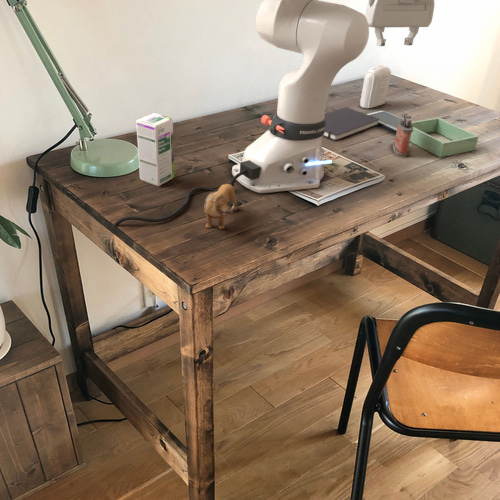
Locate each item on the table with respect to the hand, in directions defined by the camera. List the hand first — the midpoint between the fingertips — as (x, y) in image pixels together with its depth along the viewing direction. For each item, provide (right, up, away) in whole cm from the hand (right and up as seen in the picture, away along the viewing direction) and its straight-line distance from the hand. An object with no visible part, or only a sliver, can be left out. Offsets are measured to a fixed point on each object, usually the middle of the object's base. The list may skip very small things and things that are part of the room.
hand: (394, 45), depth 150 cm
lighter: (+3, -27, +5) cm, 27 cm away
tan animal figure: (-44, -48, -32) cm, 72 cm away
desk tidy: (+15, -24, +11) cm, 30 cm away
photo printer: (+2, -7, +35) cm, 35 cm away
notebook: (-11, -17, +18) cm, 27 cm away
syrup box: (-59, -37, -18) cm, 72 cm away
